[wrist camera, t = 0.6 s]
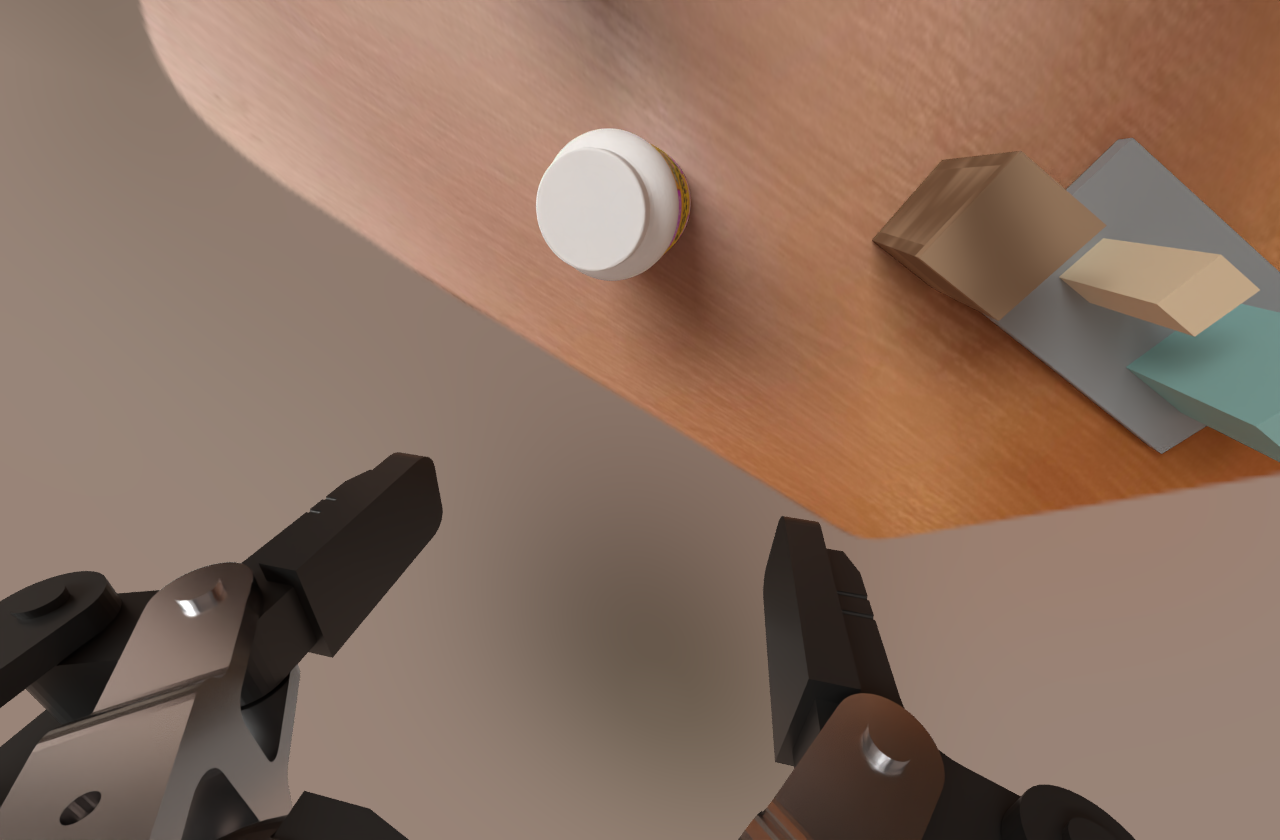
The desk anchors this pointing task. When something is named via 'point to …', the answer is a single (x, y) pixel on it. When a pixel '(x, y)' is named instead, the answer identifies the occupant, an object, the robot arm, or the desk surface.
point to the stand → (1160, 311)
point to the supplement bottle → (612, 204)
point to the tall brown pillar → (988, 230)
